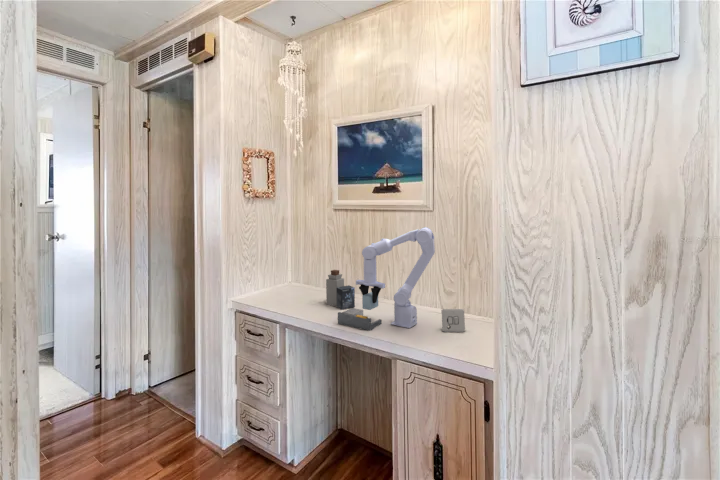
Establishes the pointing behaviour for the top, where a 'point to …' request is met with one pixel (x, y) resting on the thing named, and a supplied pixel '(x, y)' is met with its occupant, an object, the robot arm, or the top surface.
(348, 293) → the box
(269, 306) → the top surface
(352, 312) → the rack bay
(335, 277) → the perfume bottle
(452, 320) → the electrical switch
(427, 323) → the top surface
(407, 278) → the robot arm
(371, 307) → the pale blue tall block
